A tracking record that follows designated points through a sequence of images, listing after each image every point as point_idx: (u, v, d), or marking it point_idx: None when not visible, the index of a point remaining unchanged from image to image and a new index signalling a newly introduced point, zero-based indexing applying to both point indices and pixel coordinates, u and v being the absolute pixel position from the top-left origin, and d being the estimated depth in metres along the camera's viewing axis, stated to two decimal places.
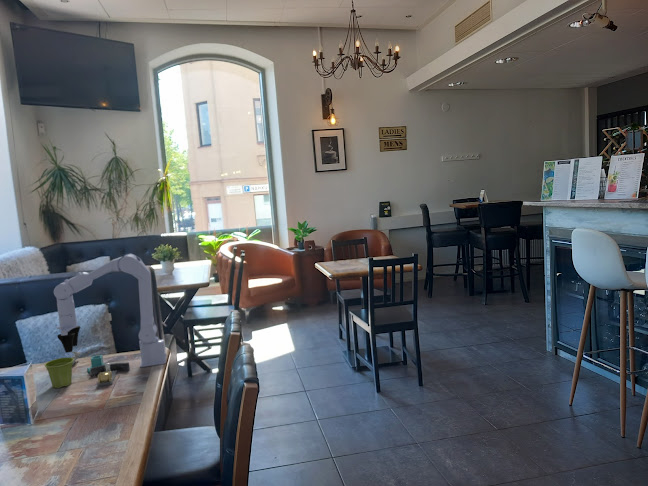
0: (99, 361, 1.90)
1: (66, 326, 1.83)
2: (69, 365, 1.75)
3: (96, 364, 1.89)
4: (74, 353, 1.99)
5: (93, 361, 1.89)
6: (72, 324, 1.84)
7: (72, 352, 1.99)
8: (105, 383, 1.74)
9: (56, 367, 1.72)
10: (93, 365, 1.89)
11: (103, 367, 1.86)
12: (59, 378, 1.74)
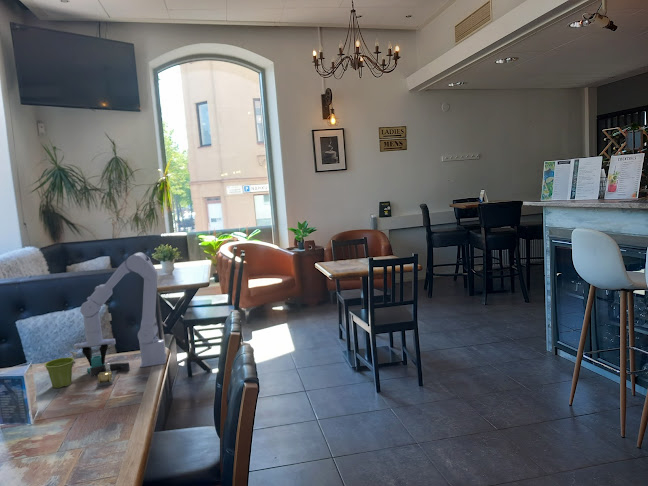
0: (99, 361, 1.90)
1: None
2: (69, 365, 1.75)
3: (96, 364, 1.89)
4: (72, 353, 1.99)
5: (93, 361, 1.89)
6: (87, 342, 1.88)
7: (70, 352, 1.99)
8: (105, 383, 1.74)
9: (56, 367, 1.72)
10: (93, 365, 1.89)
11: (103, 367, 1.86)
12: (59, 378, 1.74)
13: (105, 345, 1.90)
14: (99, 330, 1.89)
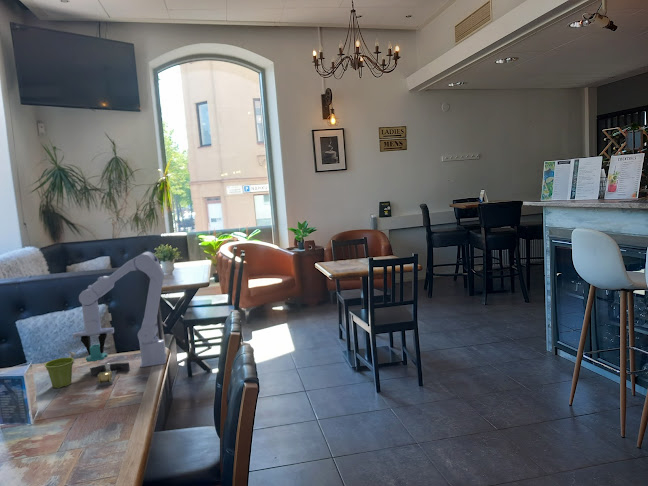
0: (98, 350, 1.89)
1: None
2: (69, 365, 1.75)
3: (95, 353, 1.89)
4: (71, 353, 1.99)
5: (92, 350, 1.88)
6: (86, 331, 1.87)
7: (69, 352, 1.98)
8: (105, 383, 1.74)
9: (56, 367, 1.72)
10: (92, 354, 1.89)
11: (103, 367, 1.86)
12: (59, 378, 1.74)
13: (104, 334, 1.90)
14: (98, 319, 1.88)
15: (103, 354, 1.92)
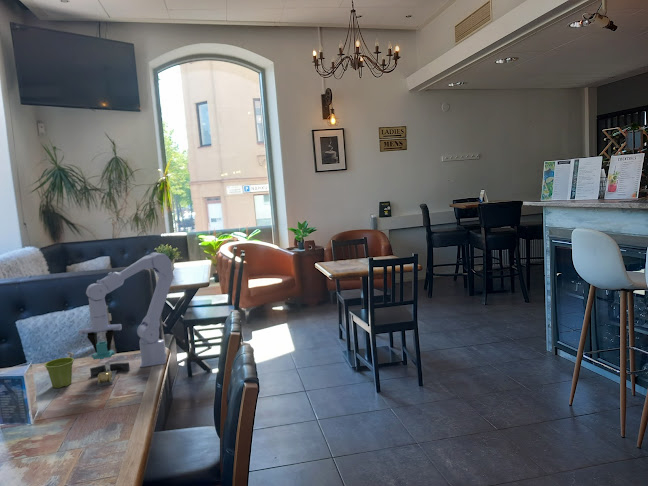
0: (105, 347, 1.82)
1: None
2: (69, 365, 1.75)
3: (102, 350, 1.82)
4: (69, 353, 1.99)
5: (98, 347, 1.82)
6: (93, 327, 1.80)
7: None
8: (105, 383, 1.74)
9: (56, 367, 1.72)
10: (98, 351, 1.82)
11: (103, 367, 1.86)
12: (59, 378, 1.74)
13: (111, 330, 1.83)
14: (105, 315, 1.81)
15: (110, 351, 1.85)
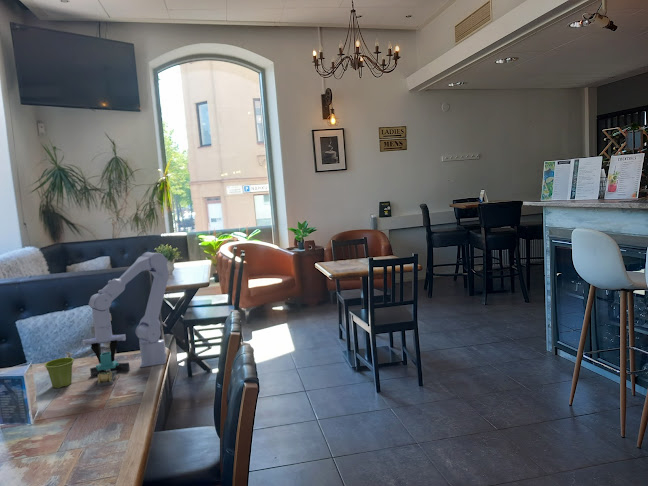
0: (109, 358, 1.80)
1: None
2: (69, 365, 1.75)
3: (105, 361, 1.80)
4: (68, 353, 1.99)
5: (102, 358, 1.80)
6: (96, 338, 1.78)
7: (66, 352, 1.98)
8: (105, 383, 1.74)
9: (56, 367, 1.72)
10: (102, 362, 1.80)
11: None
12: (59, 378, 1.74)
13: (115, 341, 1.81)
14: (109, 325, 1.80)
15: (114, 362, 1.83)
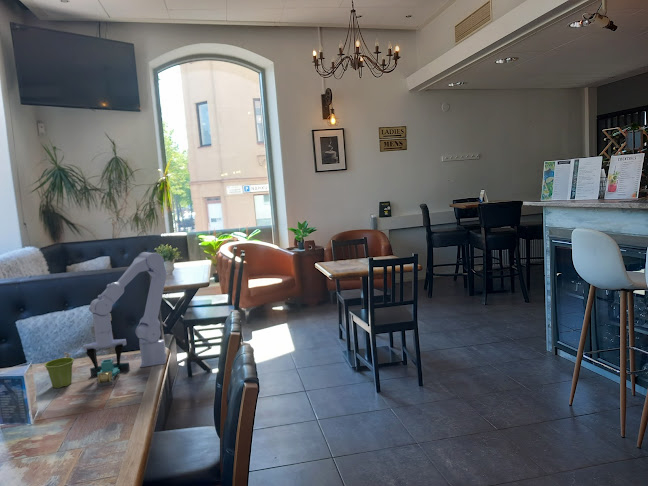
0: (110, 365, 1.81)
1: None
2: (69, 365, 1.75)
3: (106, 368, 1.80)
4: (67, 354, 1.99)
5: (103, 365, 1.80)
6: (97, 343, 1.79)
7: (65, 353, 1.98)
8: (105, 383, 1.74)
9: (56, 367, 1.72)
10: (103, 369, 1.80)
11: None
12: (59, 378, 1.74)
13: None
14: (109, 330, 1.80)
15: (115, 369, 1.83)
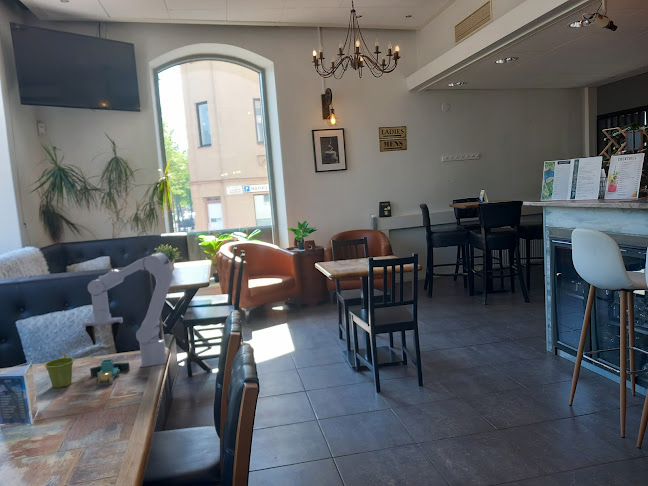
0: (110, 365, 1.81)
1: None
2: (69, 365, 1.75)
3: (106, 368, 1.80)
4: (64, 354, 1.99)
5: (103, 365, 1.80)
6: (95, 320, 1.90)
7: (62, 353, 1.98)
8: (105, 383, 1.74)
9: (56, 367, 1.72)
10: (103, 369, 1.80)
11: None
12: (59, 378, 1.74)
13: (113, 323, 1.93)
14: (107, 308, 1.92)
15: (115, 369, 1.83)
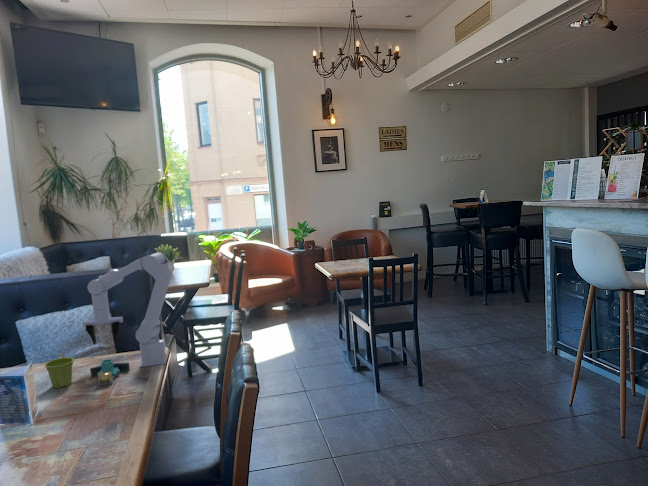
0: (110, 365, 1.81)
1: None
2: (69, 365, 1.75)
3: (106, 368, 1.80)
4: (62, 354, 1.98)
5: (103, 365, 1.80)
6: (95, 319, 1.91)
7: (61, 353, 1.98)
8: (105, 383, 1.74)
9: (56, 367, 1.72)
10: (103, 369, 1.80)
11: None
12: (59, 378, 1.74)
13: (113, 323, 1.94)
14: (107, 308, 1.93)
15: (115, 369, 1.83)
